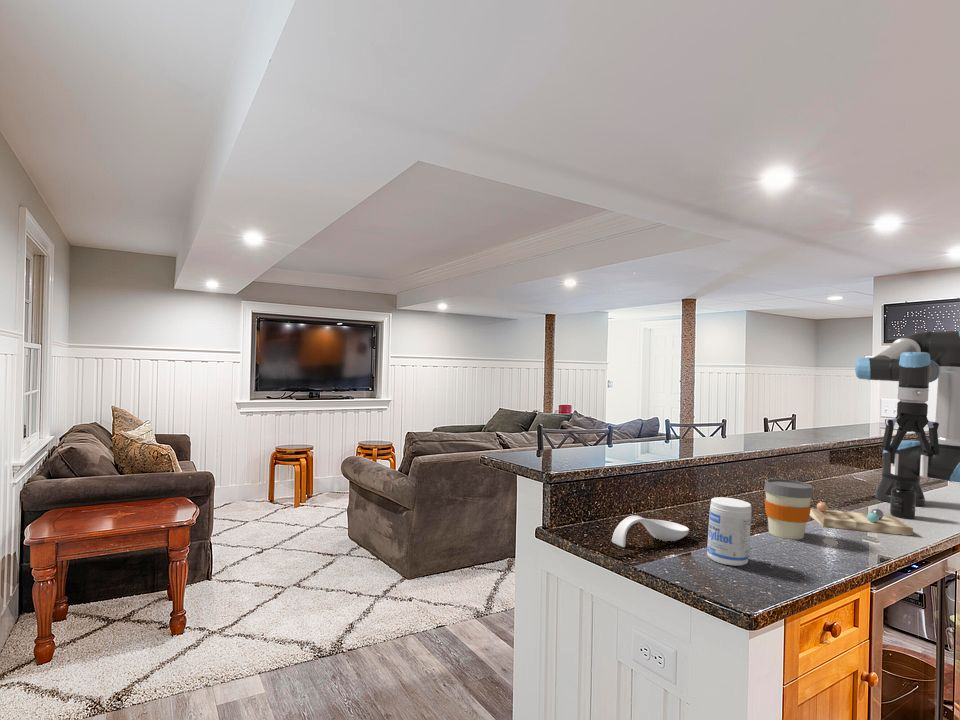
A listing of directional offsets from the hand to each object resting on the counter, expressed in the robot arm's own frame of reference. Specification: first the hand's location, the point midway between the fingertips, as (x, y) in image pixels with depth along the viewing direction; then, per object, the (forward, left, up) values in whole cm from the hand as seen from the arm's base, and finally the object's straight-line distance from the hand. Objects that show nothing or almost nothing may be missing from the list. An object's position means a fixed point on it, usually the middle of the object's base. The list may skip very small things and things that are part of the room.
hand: (908, 475), depth 175 cm
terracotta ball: (+22, -3, -13) cm, 26 cm away
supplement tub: (+60, +50, -17) cm, 80 cm away
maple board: (+13, 0, -17) cm, 21 cm away
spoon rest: (+78, +41, -18) cm, 90 cm away
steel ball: (+8, 0, -13) cm, 15 cm away
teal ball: (+11, +5, -13) cm, 18 cm away
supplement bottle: (-7, -19, -17) cm, 27 cm away
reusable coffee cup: (+39, +20, -17) cm, 47 cm away
